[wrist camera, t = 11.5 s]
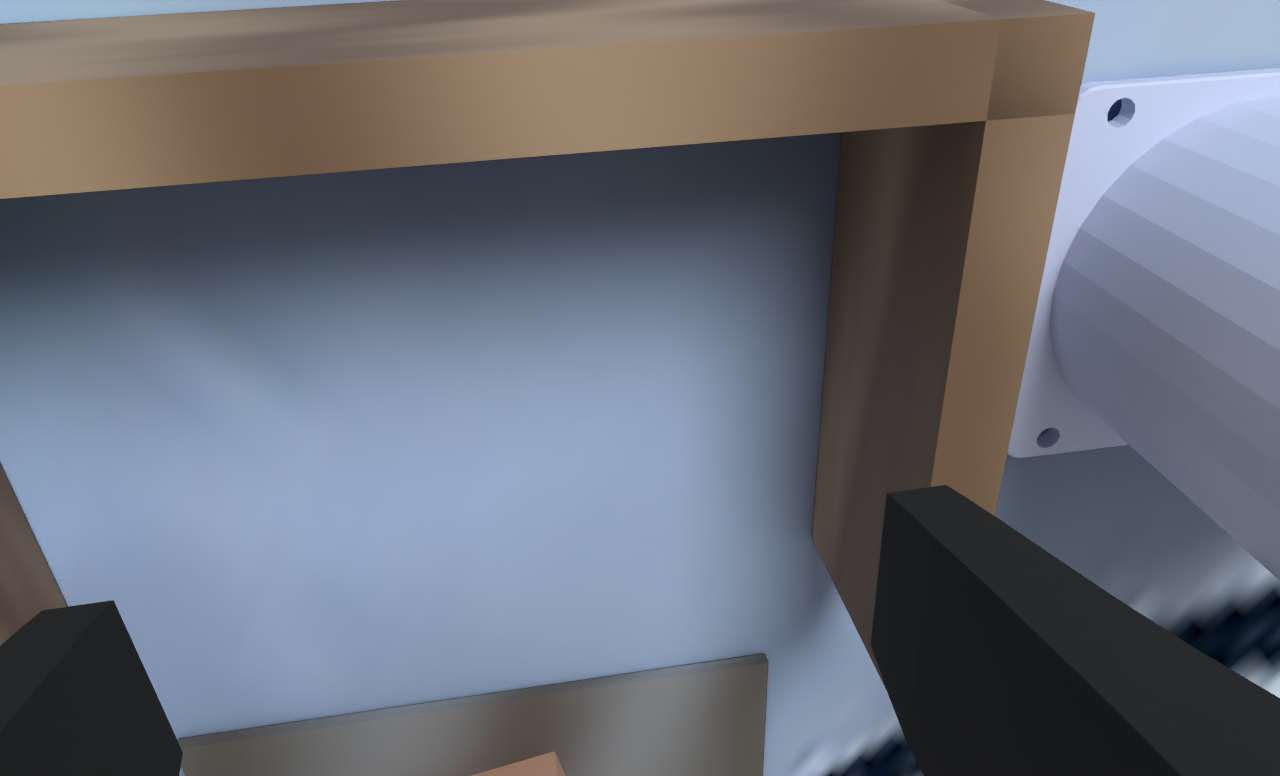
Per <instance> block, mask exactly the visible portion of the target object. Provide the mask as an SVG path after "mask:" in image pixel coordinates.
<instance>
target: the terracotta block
mask: <svg viewBox="0 0 1280 776" xmlns="http://www.w3.org/2000/svg"><path fill="white" fill-rule="evenodd" d="M471 776H566V775H565V773H564V771H563V768H562V766H561V764H560V762H559V759H558V757H557V755H556V753H555V751H554V752H550V753H547V754H544V755H540V756H537V757H533V758H530V759H526V760H523V761H519V762H516V763H513V764H509V765H506V766H502V767H499V768H495V769H492V770H489V771H485V772H482V773H478V774H475V775H471Z"/></svg>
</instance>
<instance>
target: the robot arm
mask: <svg viewBox="0 0 1280 776" xmlns="http://www.w3.org/2000/svg"><path fill="white" fill-rule="evenodd" d="M1119 99H1122V107H1121V109H1120V112H1119V114H1118V115H1117V116H1116V117H1115V118H1114V119H1113V120H1111V121H1107V114H1108V111H1109V109H1110V107H1111V106H1112V105H1113V104H1114V103H1115V102H1116V101H1117V100H1119ZM1048 428H1049V430H1048V432H1047V433H1046V434H1045V435H1043V436H1042V437H1039V438H1038V436H1039V434H1040V433H1041V432H1042V431H1044V430H1045V429H1048ZM1123 445H1130V446H1131V447H1132V448H1133V449H1134V450H1135V451H1136V452H1137V453H1139V454H1140V455H1141V456H1142V457H1143V458H1144V459H1145V460H1146V461H1147V462H1149V463H1150V464H1151V465H1152V466H1153V467H1154V468H1155V469H1156V470H1157V471H1159V472H1160V473H1161V474H1162V475H1163V476H1164V477H1165V478H1166V479H1167V480H1169V481H1170V482H1171V483H1172V484H1173V485H1174V486H1175V487H1176V488H1178V489H1179V490H1180V491H1181V492H1182V493H1183V494H1184V495H1185V496H1186V497H1188V498H1189V499H1190V500H1191V501H1192V502H1193V503H1194V504H1195V505H1196V506H1198V507H1199V508H1200V509H1201V510H1202V511H1203V512H1204V513H1205V514H1206V515H1208V516H1209V517H1210V518H1211V519H1212V520H1213V521H1214V522H1215V523H1216V524H1218V525H1219V526H1220V527H1221V528H1222V529H1223V530H1224V531H1225V532H1226V533H1228V534H1229V535H1230V536H1231V537H1232V538H1233V539H1234V540H1235V541H1236V542H1238V543H1239V544H1240V545H1241V546H1242V547H1243V548H1244V549H1245V550H1246V551H1248V552H1249V553H1250V554H1251V555H1252V556H1253V557H1254V558H1255V559H1256V560H1258V561H1259V562H1260V563H1261V564H1262V565H1263V566H1264V567H1265V568H1267V569H1268V570H1269V571H1270V572H1271V573H1272V574H1273V575H1274V576H1275V577H1277V578H1278V579H1279V580H1280V68H1272V69H1258V70H1245V71H1232V72H1219V73H1205V74H1192V75H1179V76H1165V77H1152V78H1139V79H1126V80H1112V81H1099V82H1089V83H1085V84H1082V85H1081V87H1080V92H1079V97H1078V102H1077V107H1076V112H1075V117H1074V122H1073V127H1072V132H1071V137H1070V142H1069V147H1068V152H1067V157H1066V162H1065V167H1064V172H1063V177H1062V182H1061V187H1060V192H1059V197H1058V202H1057V207H1056V212H1055V217H1054V222H1053V227H1052V232H1051V237H1050V242H1049V247H1048V252H1047V257H1046V262H1045V267H1044V272H1043V277H1042V282H1041V287H1040V292H1039V297H1038V302H1037V308H1036V313H1035V318H1034V323H1033V328H1032V333H1031V338H1030V343H1029V348H1028V353H1027V358H1026V363H1025V368H1024V373H1023V378H1022V383H1021V388H1020V393H1019V398H1018V403H1017V408H1016V413H1015V418H1014V423H1013V428H1012V433H1011V438H1010V443H1009V448H1008V453H1007V454H1008V455H1010V456H1012V457H1014V458H1027V457H1035V456H1043V455H1051V454H1059V453H1067V452H1075V451H1083V450H1091V449H1099V448H1107V447H1115V446H1123ZM871 648H872V650H873V653H874V656H875V659H876V661H877V664H878V667H879V670H880V672H881V675H882V678H883V681H884V684H885V686H886V689H887V692H888V695H889V697H890V700H891V702H892V705H893V708H894V710H895V713H896V715H897V718H898V720H899V723H900V726H901V728H902V731H903V733H904V736H905V738H906V741H907V743H908V745H909V747H910V749H911V751H912V753H913V755H914V757H915V759H916V761H917V763H918V765H919V767H920V769H921V770H922V772H923V774H924V776H1280V698H1278V697H1277V696H1275V695H1273V694H1271V693H1270V692H1268V691H1266V690H1265V689H1263V688H1261V687H1260V686H1258V685H1256V684H1254V683H1253V682H1251V681H1249V680H1248V679H1246V678H1244V677H1243V676H1241V675H1239V674H1238V673H1236V672H1234V671H1232V670H1231V669H1229V668H1227V667H1226V666H1224V665H1222V664H1221V663H1219V662H1217V661H1215V660H1214V659H1212V658H1210V657H1209V656H1207V655H1205V654H1204V653H1202V652H1200V651H1199V650H1197V649H1196V648H1194V647H1192V646H1191V645H1189V644H1188V643H1186V642H1184V641H1183V640H1181V639H1180V638H1178V637H1176V636H1175V635H1173V634H1171V633H1170V632H1168V631H1167V630H1165V629H1163V628H1162V627H1160V626H1159V625H1157V624H1156V623H1154V622H1152V621H1151V620H1149V619H1148V618H1146V617H1145V616H1143V615H1141V614H1140V613H1138V612H1137V611H1135V610H1134V609H1132V608H1131V607H1129V606H1128V605H1126V604H1125V603H1123V602H1121V601H1120V600H1118V599H1117V598H1115V597H1114V596H1112V595H1111V594H1109V593H1108V592H1106V591H1105V590H1103V589H1102V588H1100V587H1099V586H1097V585H1096V584H1094V583H1093V582H1091V581H1090V580H1088V579H1087V578H1085V577H1084V576H1082V575H1081V574H1079V573H1078V572H1076V571H1075V570H1073V569H1072V568H1070V567H1069V566H1067V565H1066V564H1064V563H1063V562H1061V561H1060V560H1058V559H1057V558H1055V557H1054V556H1052V555H1051V554H1049V553H1048V552H1046V551H1045V550H1044V549H1042V548H1041V547H1039V546H1038V545H1036V544H1035V543H1033V542H1032V541H1030V540H1029V539H1027V538H1026V537H1024V536H1023V535H1021V534H1020V533H1018V532H1017V531H1016V530H1014V529H1013V528H1011V527H1010V526H1008V525H1007V524H1005V523H1004V522H1002V521H1001V520H999V519H998V518H996V517H995V516H993V515H992V514H991V513H989V512H988V511H986V510H985V509H983V508H982V507H980V506H979V505H977V504H976V503H974V502H972V501H971V500H969V499H968V498H966V497H965V496H963V495H962V494H960V493H958V492H957V491H955V490H954V489H952V488H950V487H949V486H947V485H941V486H934V487H926V488H919V489H912V490H905V491H898V492H890V493H886V502H885V512H884V521H883V531H882V540H881V550H880V559H879V569H878V579H877V588H876V598H875V607H874V617H873V626H872V636H871ZM182 756H183V752H182V750H181V747H180V745H179V743H178V741H177V739H176V736H175V734H174V732H173V730H172V728H171V725H170V723H169V721H168V719H167V717H166V714H165V712H164V710H163V708H162V706H161V704H160V701H159V699H158V697H157V695H156V693H155V690H154V688H153V686H152V684H151V682H150V679H149V677H148V675H147V673H146V671H145V668H144V666H143V664H142V662H141V660H140V657H139V655H138V653H137V651H136V649H135V647H134V644H133V642H132V640H131V638H130V636H129V633H128V631H127V629H126V627H125V625H124V622H123V620H122V618H121V616H120V614H119V611H118V609H117V607H116V605H115V603H114V600H113V601H106V602H99V603H92V604H85V605H77V606H70V607H63V608H56V609H49V610H42V611H41V612H39V613H38V614H37V615H36V616H35V617H33V618H32V619H31V620H30V621H29V622H27V623H26V624H25V625H24V626H22V627H21V628H20V629H19V630H18V631H17V632H15V633H14V634H13V635H12V636H11V637H10V638H8V639H7V640H6V641H5V642H4V643H3V644H2V645H1V646H0V776H179V773H180V767H181V762H182Z"/></svg>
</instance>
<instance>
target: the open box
mask: <svg viewBox="0 0 1280 776" xmlns="http://www.w3.org/2000/svg"><path fill="white" fill-rule="evenodd" d="M1094 16H1095V13H1093V12H1089V11H1085V10H1081V9H1077V8H1073V7H1069V6H1065V5H1061V4H1057V3H1053V2H1049V1H1045V0H399V1H382V2H366V3H349V4H332V5H315V6H298V7H281V8H264V9H247V10H230V11H213V12H196V13H179V14H162V15H145V16H128V17H111V18H94V19H77V20H60V21H43V22H26V23H9V24H0V199H6V198H19V197H31V196H44V195H56V194H69V193H82V192H94V191H107V190H119V189H132V188H145V187H157V186H170V185H183V184H195V183H208V182H220V181H233V180H246V179H258V178H271V177H283V176H296V175H309V174H321V173H334V172H346V171H359V170H372V169H384V168H397V167H409V166H422V165H435V164H447V163H460V162H473V161H485V160H498V159H510V158H523V157H536V156H548V155H561V154H573V153H586V152H599V151H611V150H624V149H636V148H649V147H662V146H674V145H687V144H699V143H712V142H725V141H737V140H750V139H762V138H775V137H788V136H800V135H813V134H826V133H838V132H842V141H841V154H840V168H839V181H838V195H837V208H836V222H835V235H834V249H833V262H832V276H831V289H830V302H829V316H828V329H827V343H826V356H825V370H824V383H823V397H822V410H821V424H820V437H819V451H818V464H817V478H816V491H815V504H814V518H813V531H812V540H813V542H814V544H815V546H816V548H817V550H818V552H819V554H820V556H821V558H822V560H823V562H824V564H825V566H826V568H827V570H828V572H829V574H830V576H831V578H832V580H833V582H834V585H835V587H836V589H837V591H838V593H839V595H840V597H841V599H842V601H843V603H844V605H845V607H846V609H847V611H848V613H849V615H850V617H851V619H852V621H853V623H854V625H855V627H856V629H857V631H858V633H859V635H860V637H861V639H862V641H863V643H864V645H865V647H866V649H867V651H868V653H869V655H870V657H871V659H872V661H873V663H874V665H875V667H876V669H877V671H878V674H879V676H880V678H881V680H882V682H883V684H884V681H883V678H882V675H881V672H880V670H879V667H878V664H877V661H876V659H875V656H874V653H873V650H872V648H871V636H872V626H873V617H874V607H875V598H876V588H877V579H878V569H879V559H880V550H881V540H882V531H883V521H884V512H885V502H886V493H890V492H898V491H905V490H912V489H919V488H926V487H934V486H941V485H947V486H949V487H950V488H952V489H954V490H955V491H957V492H958V493H960V494H962V495H963V496H965V497H966V498H968V499H969V500H971V501H972V502H974V503H976V504H977V505H979V506H980V507H982V508H983V509H985V510H986V511H988V512H989V513H991V514H992V515H993V516H995V513H996V508H997V503H998V498H999V493H1000V488H1001V483H1002V478H1003V473H1004V468H1005V463H1006V458H1007V453H1008V448H1009V443H1010V438H1011V433H1012V428H1013V423H1014V418H1015V413H1016V408H1017V403H1018V398H1019V393H1020V388H1021V383H1022V378H1023V373H1024V368H1025V363H1026V358H1027V353H1028V348H1029V343H1030V338H1031V333H1032V328H1033V323H1034V318H1035V313H1036V308H1037V302H1038V297H1039V292H1040V287H1041V282H1042V277H1043V272H1044V267H1045V262H1046V257H1047V252H1048V247H1049V242H1050V237H1051V232H1052V227H1053V222H1054V217H1055V212H1056V207H1057V202H1058V197H1059V192H1060V187H1061V182H1062V177H1063V172H1064V167H1065V162H1066V157H1067V152H1068V147H1069V142H1070V137H1071V132H1072V127H1073V122H1074V117H1075V112H1076V107H1077V102H1078V97H1079V92H1080V87H1081V82H1082V77H1083V72H1084V67H1085V62H1086V57H1087V52H1088V47H1089V41H1090V36H1091V31H1092V26H1093V21H1094ZM63 607H67V605H66V602H65V600H64V598H63V596H62V594H61V592H60V590H59V588H58V585H57V583H56V581H55V579H54V577H53V575H52V573H51V570H50V568H49V566H48V564H47V562H46V560H45V558H44V556H43V553H42V551H41V549H40V547H39V545H38V543H37V541H36V538H35V536H34V534H33V532H32V530H31V528H30V526H29V524H28V521H27V519H26V517H25V515H24V513H23V511H22V509H21V507H20V504H19V502H18V500H17V498H16V496H15V494H14V492H13V489H12V487H11V485H10V483H9V481H8V479H7V477H6V475H5V472H4V470H3V468H2V466H1V464H0V646H1V645H2V644H3V643H4V642H5V641H6V640H7V639H8V638H10V637H11V636H12V635H13V634H14V633H15V632H17V631H18V630H19V629H20V628H21V627H22V626H24V625H25V624H26V623H27V622H29V621H30V620H31V619H32V618H33V617H35V616H36V615H37V614H38V613H39V612H41V611H42V610H49V609H56V608H63ZM767 680H768V660H767V658H766V655H765V654H759V655H752V656H745V657H738V658H731V659H725V660H718V661H711V662H704V663H697V664H690V665H683V666H676V667H670V668H663V669H656V670H649V671H642V672H635V673H628V674H621V675H614V676H608V677H601V678H594V679H587V680H580V681H573V682H566V683H559V684H553V685H546V686H539V687H532V688H525V689H518V690H511V691H504V692H497V693H491V694H484V695H477V696H470V697H463V698H456V699H449V700H442V701H436V702H429V703H422V704H415V705H408V706H401V707H394V708H387V709H380V710H374V711H367V712H360V713H353V714H346V715H339V716H332V717H325V718H319V719H312V720H305V721H298V722H291V723H284V724H277V725H270V726H264V727H257V728H250V729H243V730H236V731H229V732H222V733H215V734H208V735H202V736H195V737H188V738H181V739H178V740H177V741H178V743H179V745H180V747H181V750H182V752H183V756H182V762H181V766H182V768H183V771H184V773H185V775H186V776H471V775H475V774H478V773H482V772H485V771H489V770H492V769H495V768H499V767H502V766H506V765H509V764H513V763H516V762H519V761H523V760H526V759H530V758H533V757H537V756H540V755H544V754H547V753H550V752H554V751H555V753H556V755H557V757H558V759H559V762H560V764H561V766H562V768H563V771H564V773H565V775H566V776H763V763H764V742H765V721H766V701H767ZM884 686H885V684H884ZM885 688H886V686H885ZM886 690H887V689H886Z"/></svg>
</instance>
